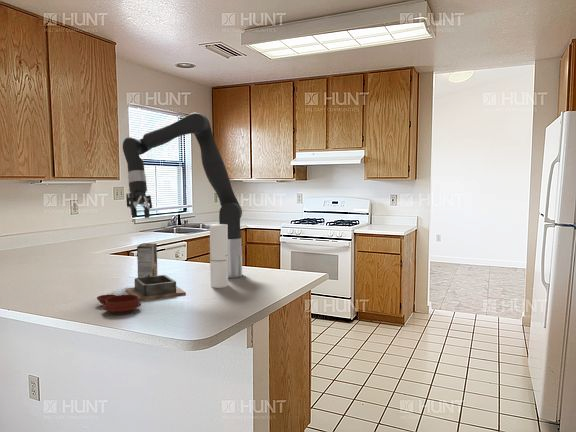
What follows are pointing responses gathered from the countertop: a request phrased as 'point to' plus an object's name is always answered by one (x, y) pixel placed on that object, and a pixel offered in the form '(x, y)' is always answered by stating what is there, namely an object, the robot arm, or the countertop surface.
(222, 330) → the countertop surface
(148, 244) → the coffee box
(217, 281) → the cylindrical container
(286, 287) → the countertop surface
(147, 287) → the docking cradle
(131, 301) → the pottery
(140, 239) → the countertop surface
